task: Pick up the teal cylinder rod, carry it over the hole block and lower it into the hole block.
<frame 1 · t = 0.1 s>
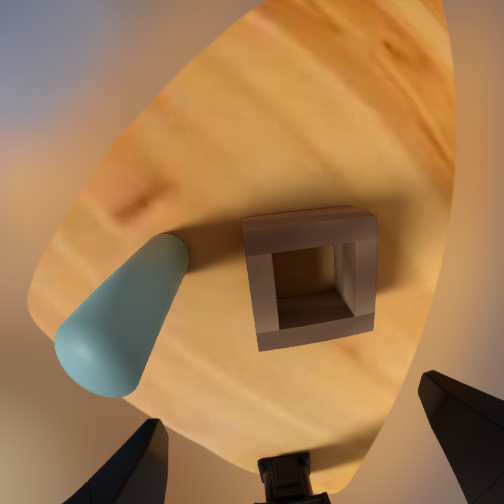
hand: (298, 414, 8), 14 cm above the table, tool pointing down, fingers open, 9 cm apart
teal cylinder rod: (166, 257, 21), on the table
hole block: (301, 264, 22), on the table
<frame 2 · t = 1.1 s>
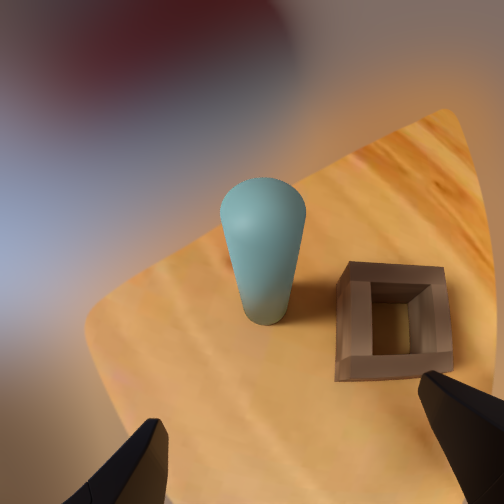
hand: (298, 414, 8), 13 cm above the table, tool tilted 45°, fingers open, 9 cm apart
teal cylinder rod: (265, 303, 24), on the table
hole block: (382, 332, 22), on the table
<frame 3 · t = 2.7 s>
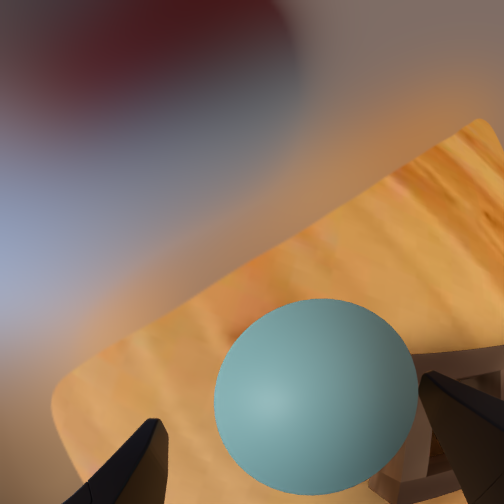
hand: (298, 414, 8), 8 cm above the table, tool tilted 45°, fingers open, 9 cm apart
teal cylinder rod: (283, 399, 16), on the table
hole block: (430, 421, 14), on the table
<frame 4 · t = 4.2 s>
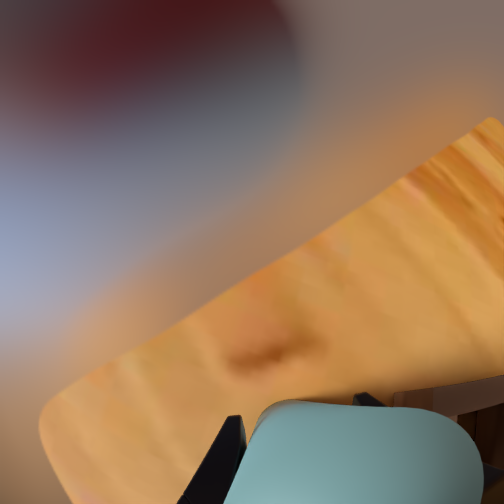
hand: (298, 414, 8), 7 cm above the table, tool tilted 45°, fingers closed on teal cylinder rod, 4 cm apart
teal cylinder rod: (289, 430, 13), on the table, touching gripper
hole block: (445, 447, 11), on the table
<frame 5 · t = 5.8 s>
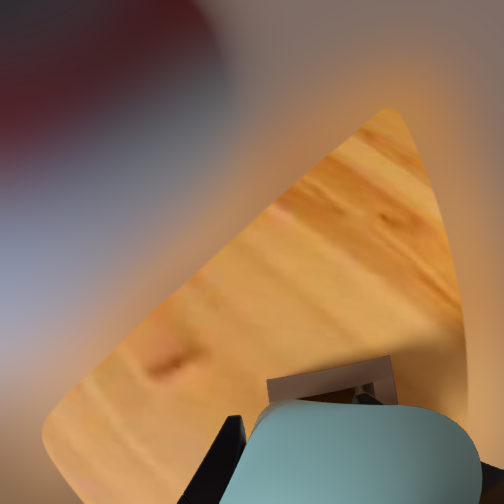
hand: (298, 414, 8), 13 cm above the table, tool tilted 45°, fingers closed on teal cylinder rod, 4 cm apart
teal cylinder rod: (288, 430, 13), point 7 cm above the table, touching gripper
hole block: (326, 423, 19), on the table
when the fingers open (7 cm above the table, at t = 7.9 s): teal cylinder rod stays where it is, resting in hole block.
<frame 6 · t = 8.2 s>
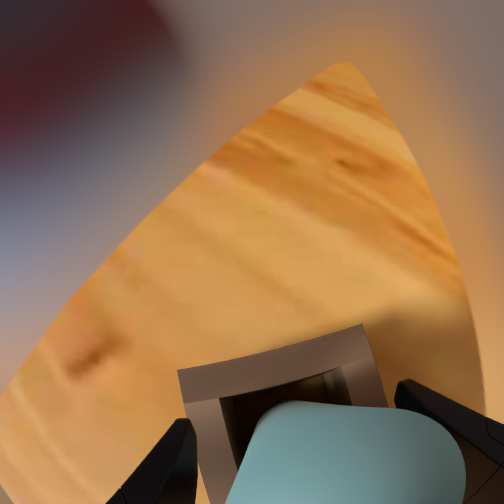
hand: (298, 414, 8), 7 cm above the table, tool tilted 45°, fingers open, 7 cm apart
teal cylinder rod: (289, 429, 14), resting in hole block
hole block: (288, 429, 14), on the table
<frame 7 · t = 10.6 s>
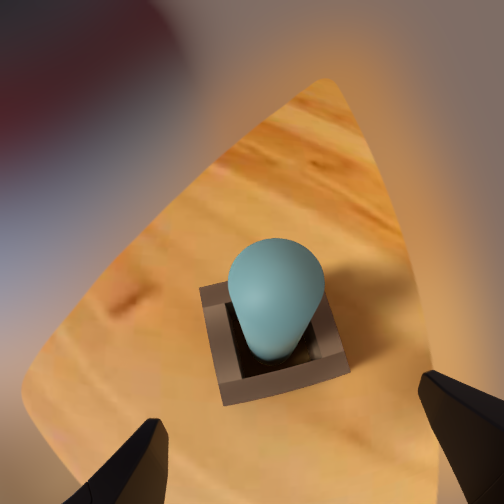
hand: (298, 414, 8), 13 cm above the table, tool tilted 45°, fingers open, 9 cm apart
teal cylinder rod: (271, 343, 22), resting in hole block
hole block: (271, 343, 22), on the table
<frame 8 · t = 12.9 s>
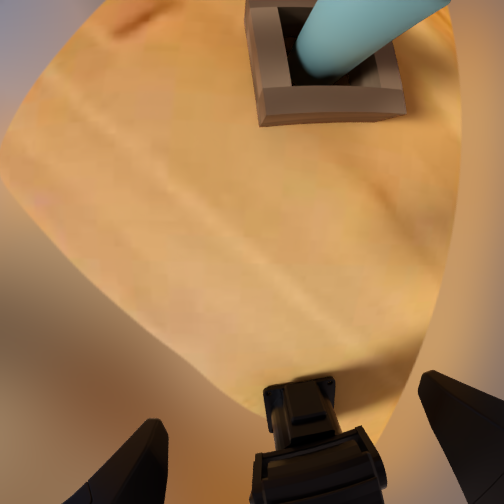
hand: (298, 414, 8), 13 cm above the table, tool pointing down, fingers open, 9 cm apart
teal cylinder rod: (311, 67, 17), resting in hole block
hole block: (311, 67, 17), on the table
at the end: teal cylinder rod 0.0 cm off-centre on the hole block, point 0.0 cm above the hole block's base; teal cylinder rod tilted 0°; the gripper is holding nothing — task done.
